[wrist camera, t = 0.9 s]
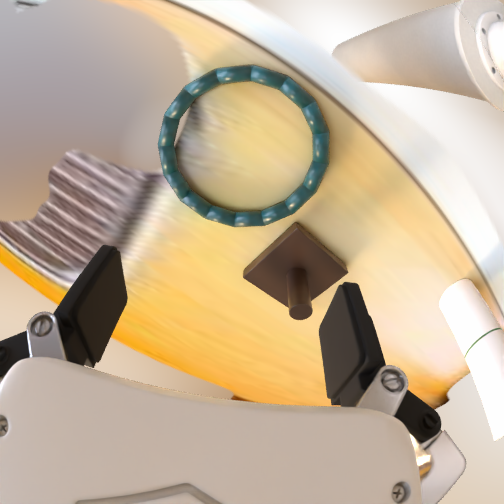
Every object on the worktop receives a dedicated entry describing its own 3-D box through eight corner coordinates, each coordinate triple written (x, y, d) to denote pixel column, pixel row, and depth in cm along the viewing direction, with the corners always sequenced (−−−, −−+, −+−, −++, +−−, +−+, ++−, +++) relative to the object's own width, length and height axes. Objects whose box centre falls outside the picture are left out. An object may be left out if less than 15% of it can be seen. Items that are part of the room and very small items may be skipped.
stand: (295, 221, 31) (302, 261, 24) (345, 265, 34) (360, 308, 27) (243, 269, 35) (238, 314, 28) (294, 304, 38) (298, 348, 31)
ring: (231, 34, 20) (229, 31, 18) (360, 145, 25) (365, 149, 24) (134, 162, 27) (128, 166, 26) (252, 248, 33) (252, 256, 31)
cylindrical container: (448, 316, 39) (497, 440, 18) (433, 301, 37) (490, 442, 16) (477, 290, 36) (538, 411, 15) (465, 271, 33) (539, 408, 13)
